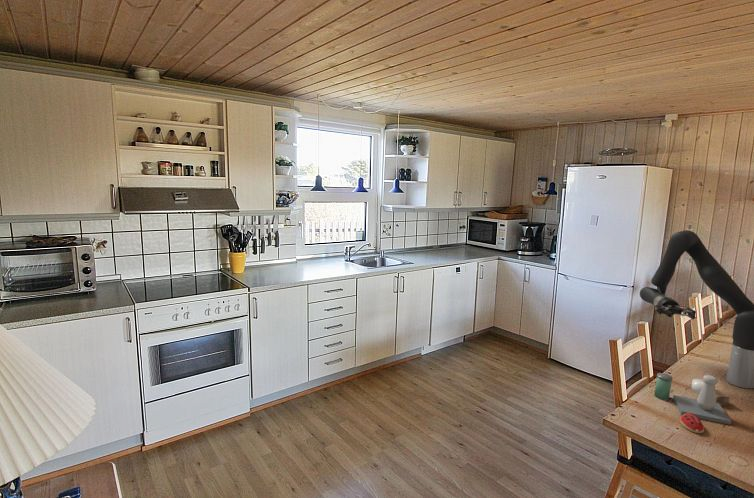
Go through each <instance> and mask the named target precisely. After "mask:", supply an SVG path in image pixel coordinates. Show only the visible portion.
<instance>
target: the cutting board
mask: <svg viewBox="0 0 754 498" xmlns="http://www.w3.org/2000/svg"><path fill="white" fill-rule="evenodd" d="M672 399H673V401H674V404H675V405H676V406H677V407H676V408H677V409H678V411H679V413H680V415H681V416H683V415H684V414H687V413H689V414H692V415H694V416H696V417H697V418H698V419H699V420H704V421H710V422H714V423H720V424H725V425H729V426H730V425H731V424H732V420H731V419H730V417H729V416H728V414H727V413H726V411H725V410H724V408H723V406H721V405H720V404H719V403H716V407H715V408H714V409H713V410H711V411H707V410H703V409H701V408H700V407H699V406H698V402H697V398H692V397H688V396H687V397H686V396H682V395H681V396H680V395H675V394H673V396H672Z"/></svg>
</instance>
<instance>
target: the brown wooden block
mask: <svg viewBox="0 0 754 498" xmlns="http://www.w3.org/2000/svg"><path fill="white" fill-rule="evenodd" d="M715 394H716V403H719V404H720V405H721V407H728V406H729V402H730V398H731V397H730V396H729V395H727V394H726V393H725V392H723V391H721V390H717V389H715Z"/></svg>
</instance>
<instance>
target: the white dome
mask: <svg viewBox="0 0 754 498" xmlns="http://www.w3.org/2000/svg"><path fill="white" fill-rule="evenodd" d="M704 383H705V382H704V381H703V378H693V379H692V381H691V387H690V390H691V389H692V390H691V391H692V392H694V393H695V392H696V393H695V394H698V395H699V394H700V392H701V389H702V387H703V385H704Z"/></svg>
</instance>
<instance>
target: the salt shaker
mask: <svg viewBox="0 0 754 498" xmlns="http://www.w3.org/2000/svg"><path fill="white" fill-rule="evenodd" d="M702 380H703V381H704V382H705V383H704V385H703V387H702V389H701V392H700V394H698V396H697V398H696V399H697V402H698V406H699V407H700V408H701V409H703V410H707V411H711V410H713V409H714V408H715V407H716V394H715V390H716V385H717V384H718V379H717V377H715V376H713V375H710V374H705V375H703V378H702Z"/></svg>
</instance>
